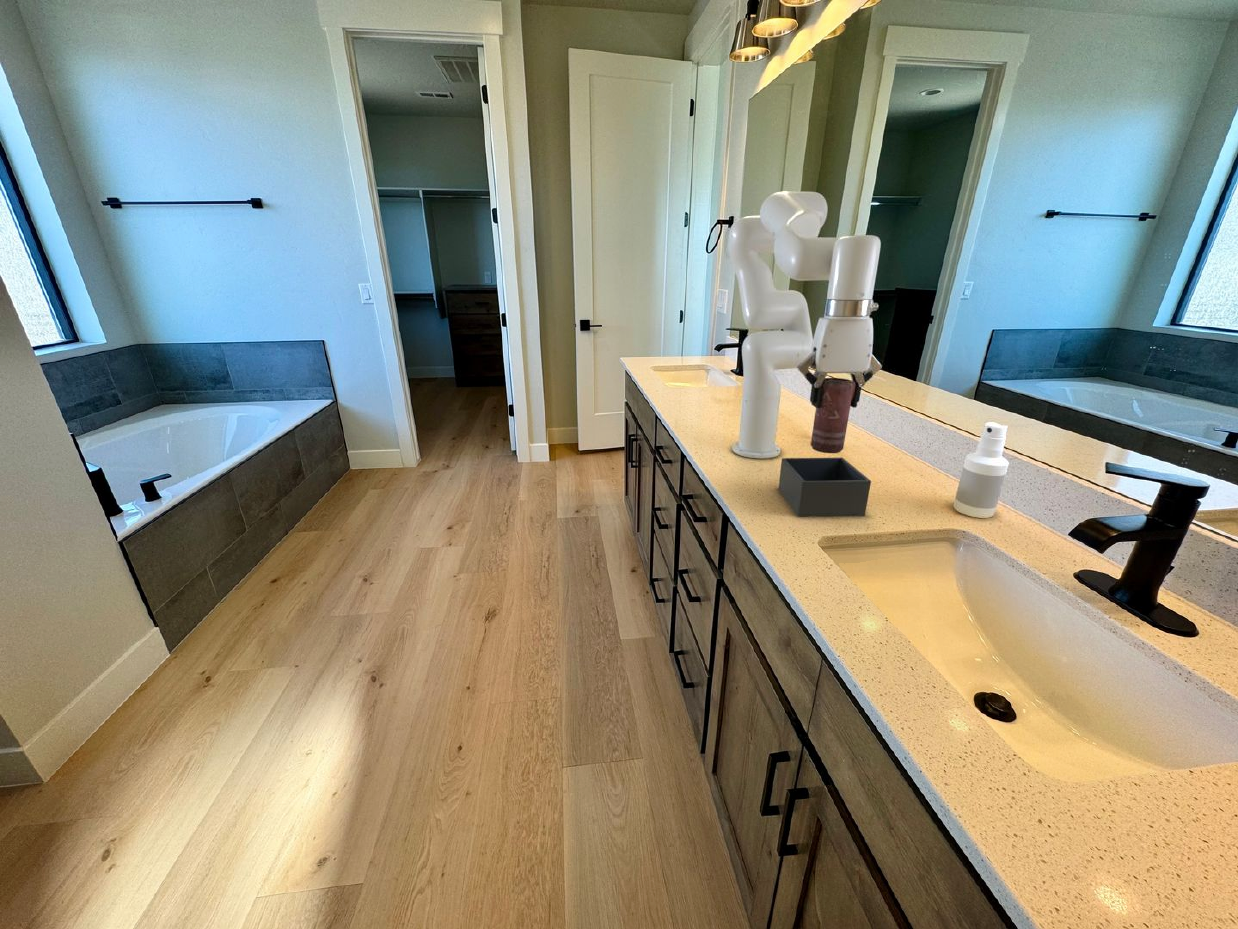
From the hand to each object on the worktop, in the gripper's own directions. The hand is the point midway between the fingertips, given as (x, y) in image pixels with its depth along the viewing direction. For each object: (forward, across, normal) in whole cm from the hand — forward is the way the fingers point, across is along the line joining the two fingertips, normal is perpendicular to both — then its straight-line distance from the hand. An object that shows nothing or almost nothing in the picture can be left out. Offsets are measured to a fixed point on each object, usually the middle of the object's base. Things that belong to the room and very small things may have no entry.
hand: (833, 405), depth 96 cm
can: (+9, 0, 0) cm, 9 cm away
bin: (+21, 0, 0) cm, 21 cm away
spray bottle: (+21, -29, +5) cm, 36 cm away
